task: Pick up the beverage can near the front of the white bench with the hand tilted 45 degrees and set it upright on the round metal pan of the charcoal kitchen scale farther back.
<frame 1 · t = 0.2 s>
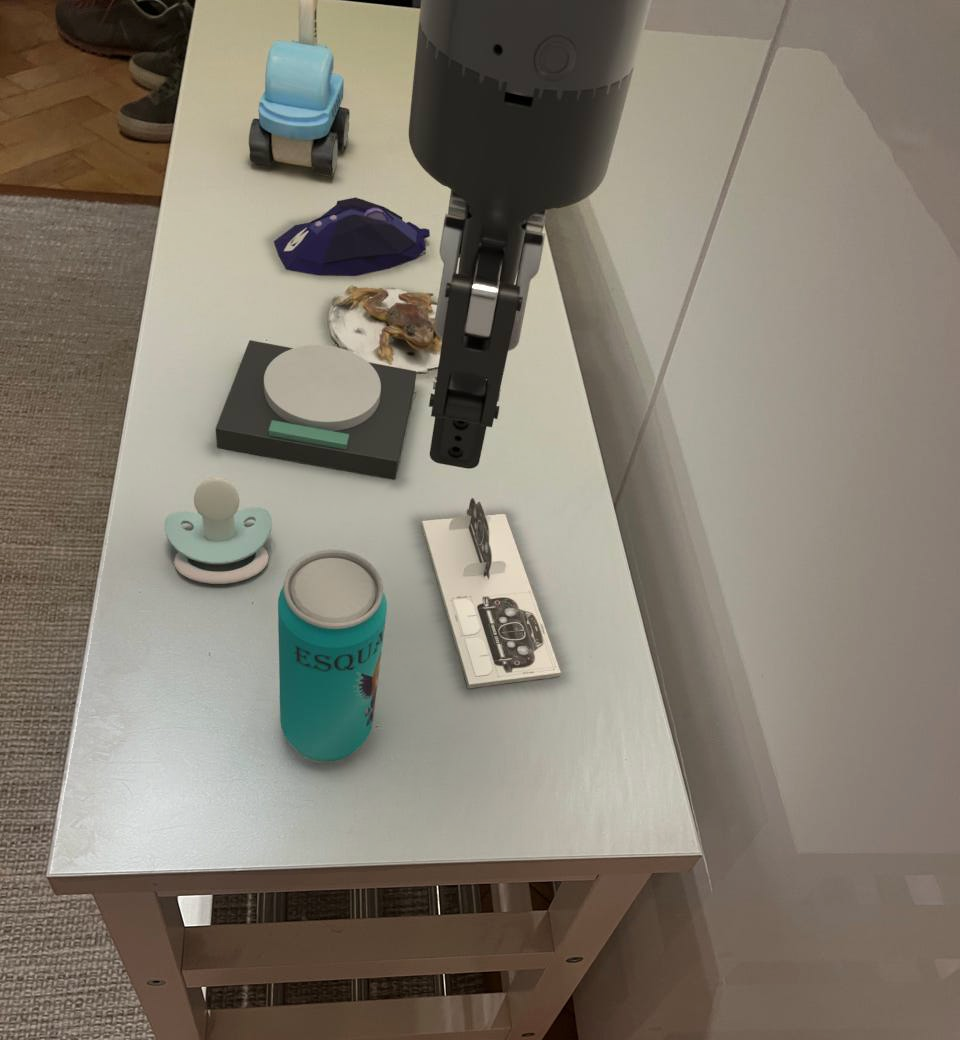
hand: (464, 398, 46), 25 cm above the bench, tool pointing down, fingers open, 8 cm apart
scale: (320, 417, 81), on the bench
frog figurine: (398, 334, 89), on the bench
beverage can: (325, 734, 64), on the bench
car cutout: (486, 598, 72), on the bench
pacifier: (221, 557, 71), on the bench
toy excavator: (306, 142, 105), on the bench
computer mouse: (353, 247, 95), on the bench
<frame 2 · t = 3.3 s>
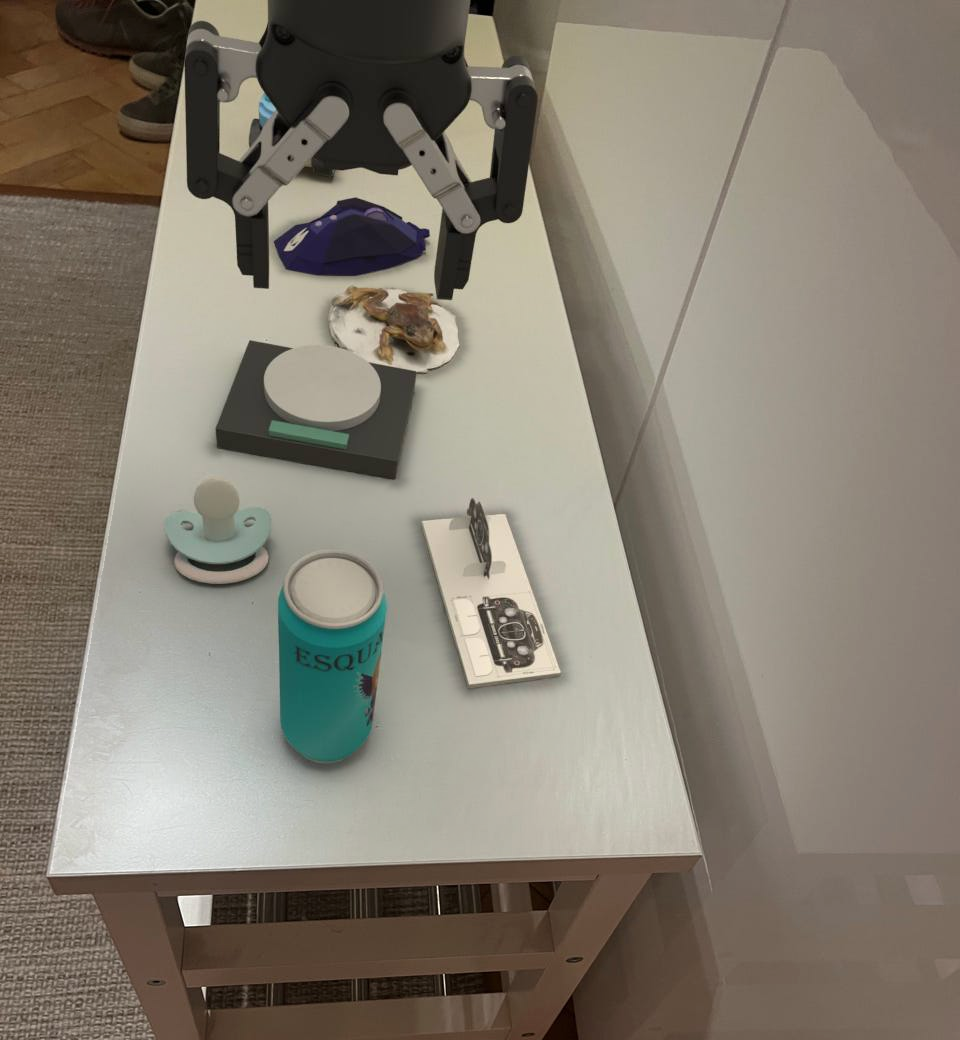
hand: (353, 284, 47), 27 cm above the bench, tool pointing down, fingers open, 8 cm apart
nothing on the bench moved.
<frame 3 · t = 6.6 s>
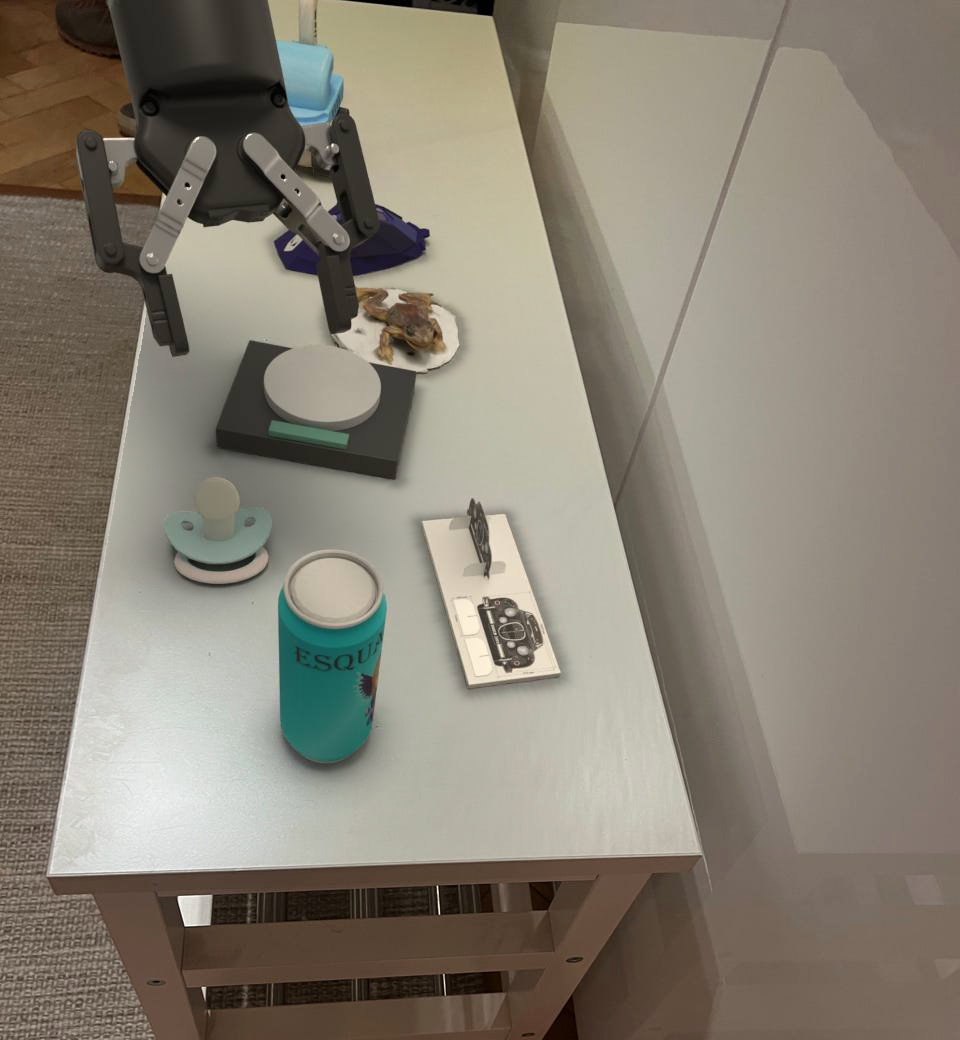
hand: (263, 342, 52), 22 cm above the bench, tool tilted 45°, fingers open, 8 cm apart
nothing on the bench moved.
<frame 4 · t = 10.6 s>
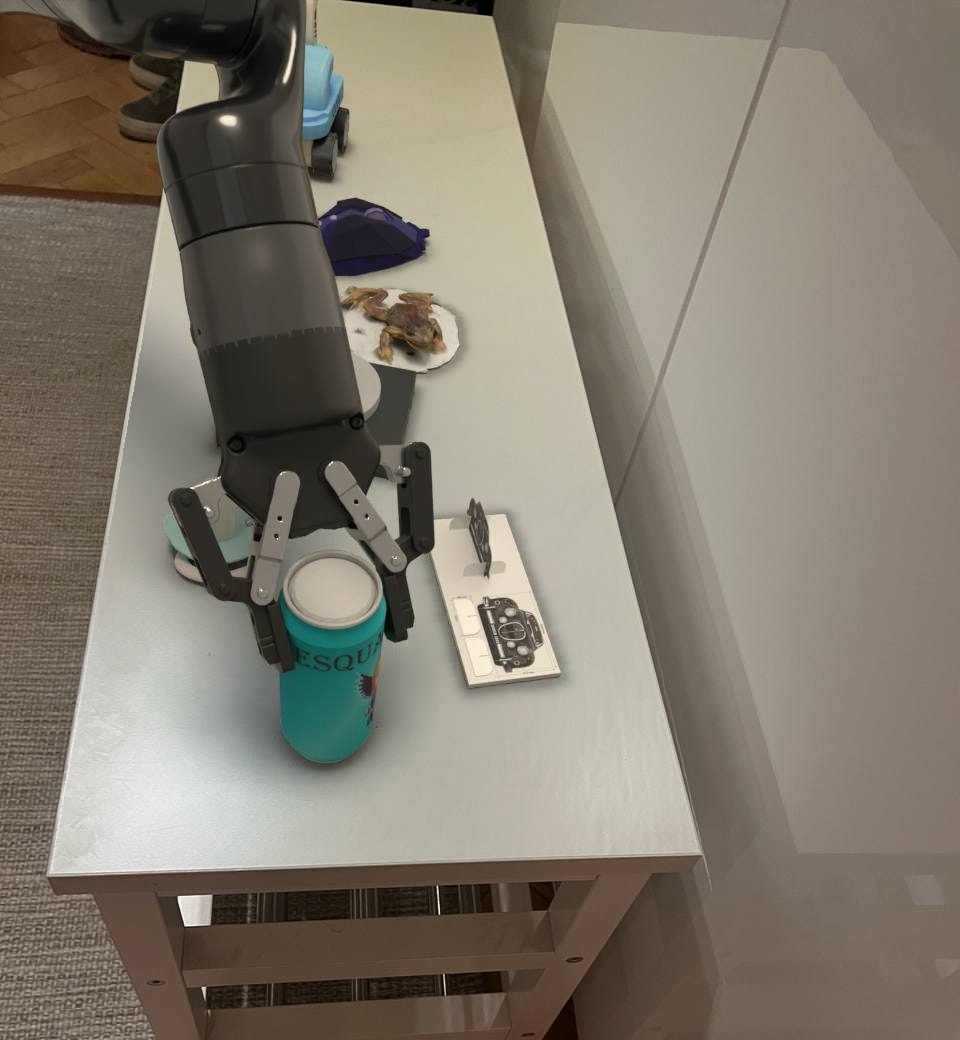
hand: (342, 653, 54), 11 cm above the bench, tool tilted 45°, fingers closed on beverage can, 5 cm apart
beverage can: (326, 734, 64), on the bench, touching gripper
everything else where it was.
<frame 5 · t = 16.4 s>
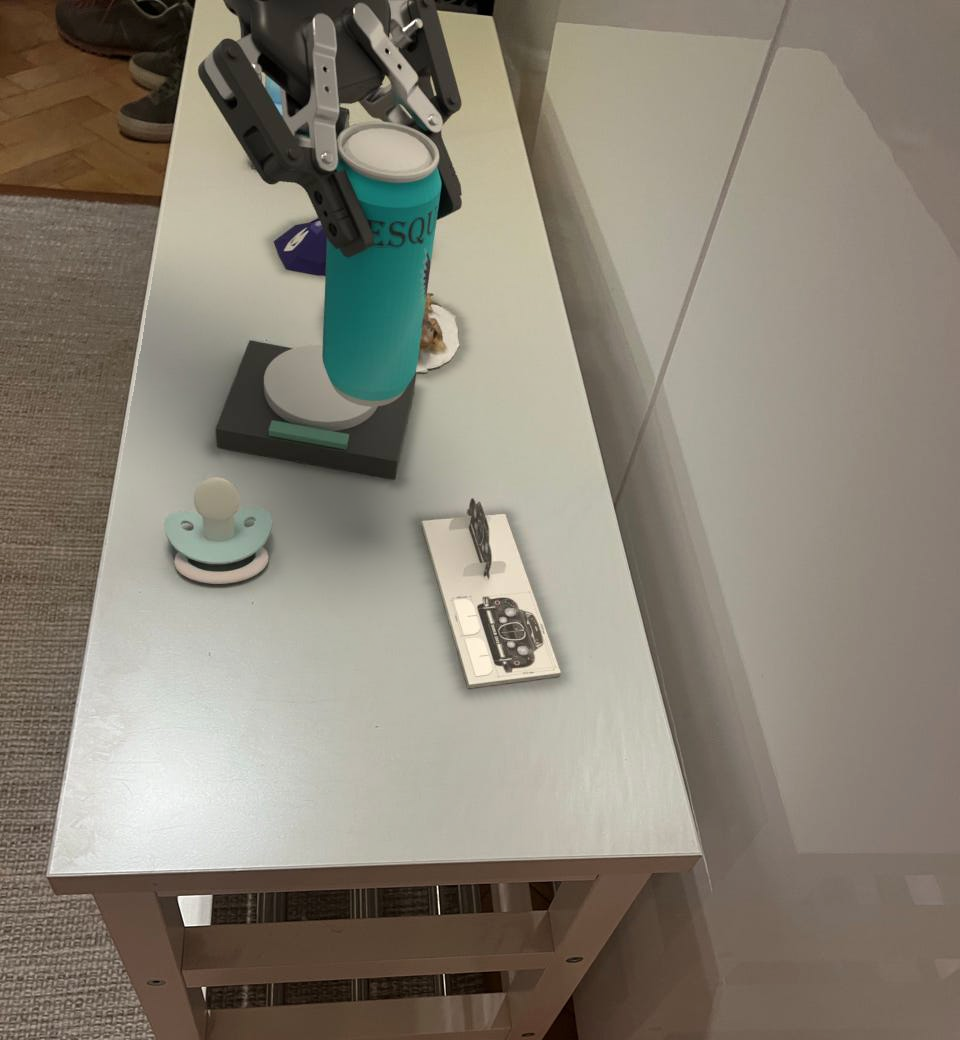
hand: (405, 231, 52), 26 cm above the bench, tool tilted 45°, fingers closed on beverage can, 5 cm apart
beverage can: (367, 385, 62), point 15 cm above the bench, touching gripper
everything else where it was.
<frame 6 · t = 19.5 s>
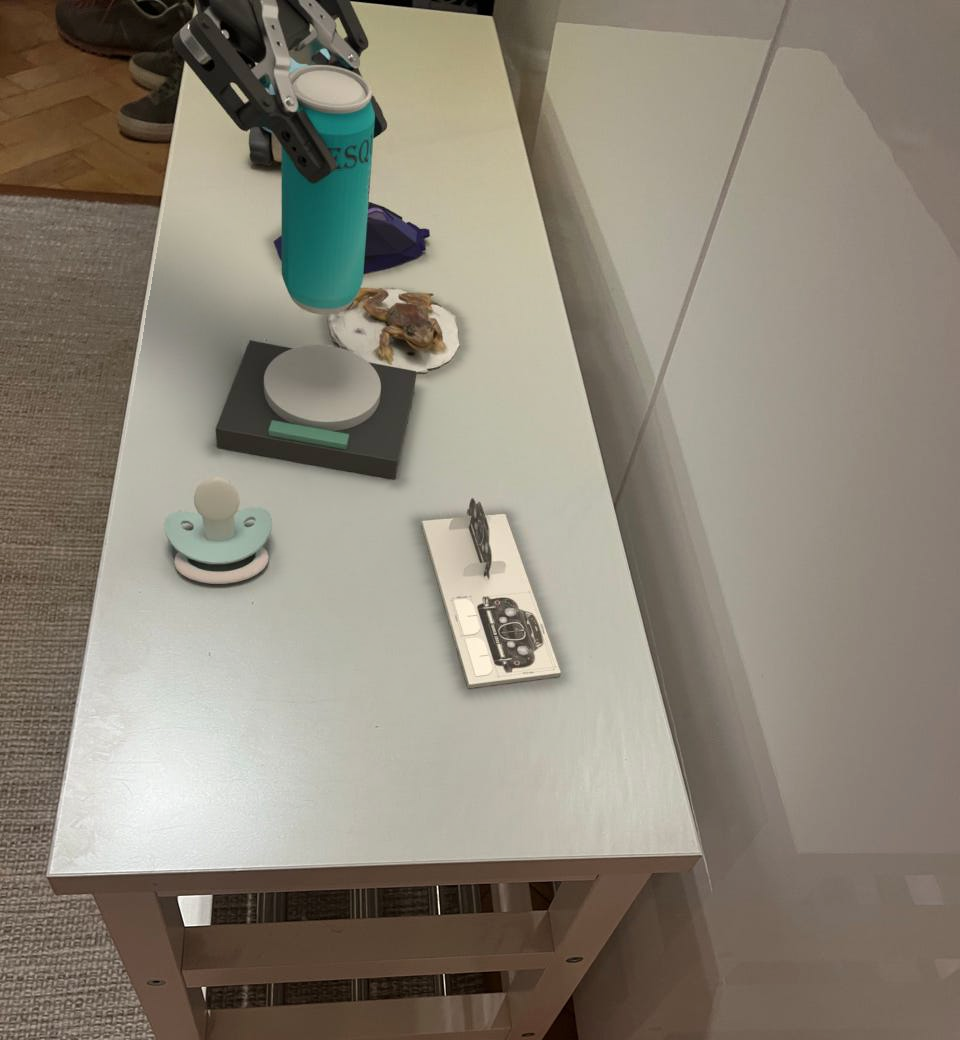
hand: (350, 154, 63), 22 cm above the bench, tool tilted 45°, fingers closed on beverage can, 5 cm apart
beverage can: (321, 298, 72), point 11 cm above the bench, touching gripper
everything else where it was.
when the fingers open (14 cm above the bench, at t = 22.2 s): beverage can stays where it is, resting on scale.
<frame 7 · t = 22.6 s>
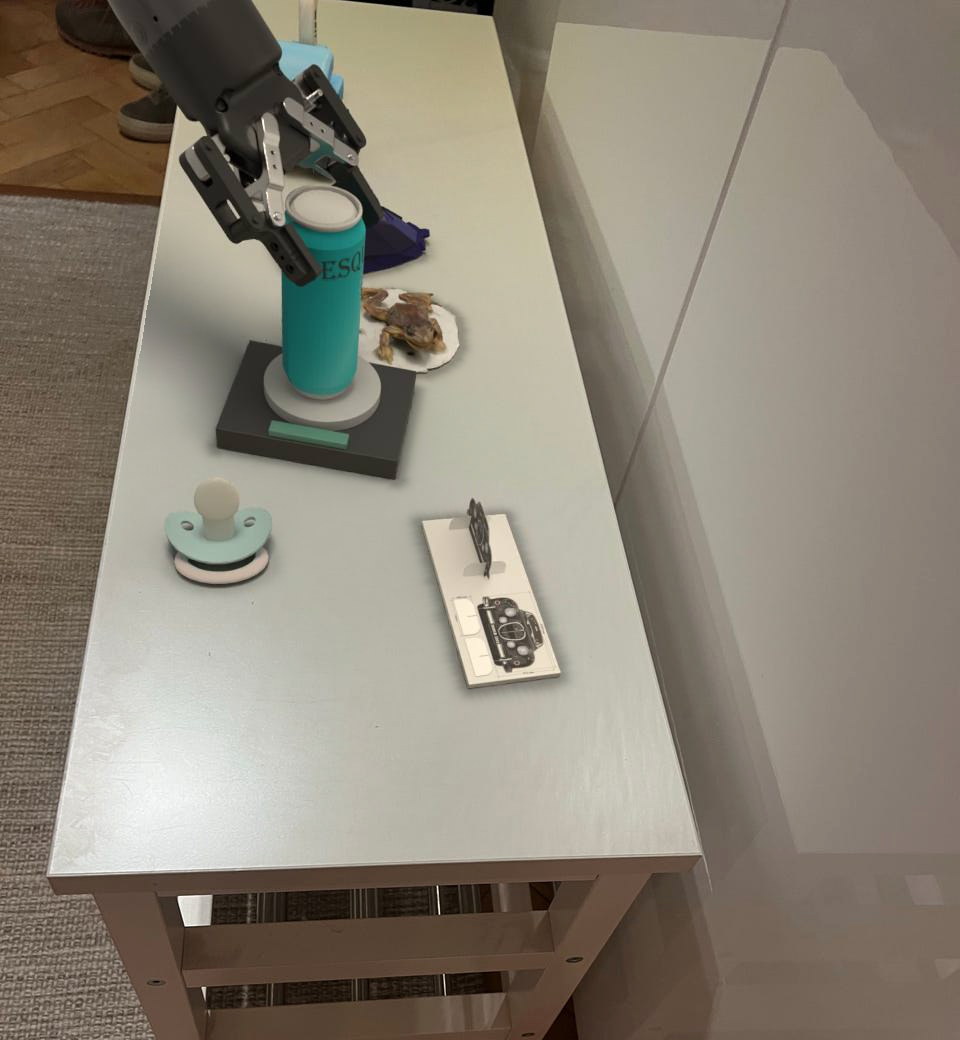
hand: (344, 251, 69), 15 cm above the bench, tool tilted 45°, fingers open, 8 cm apart
beverage can: (319, 383, 79), point 3 cm above the bench, touching scale
everything else where it was.
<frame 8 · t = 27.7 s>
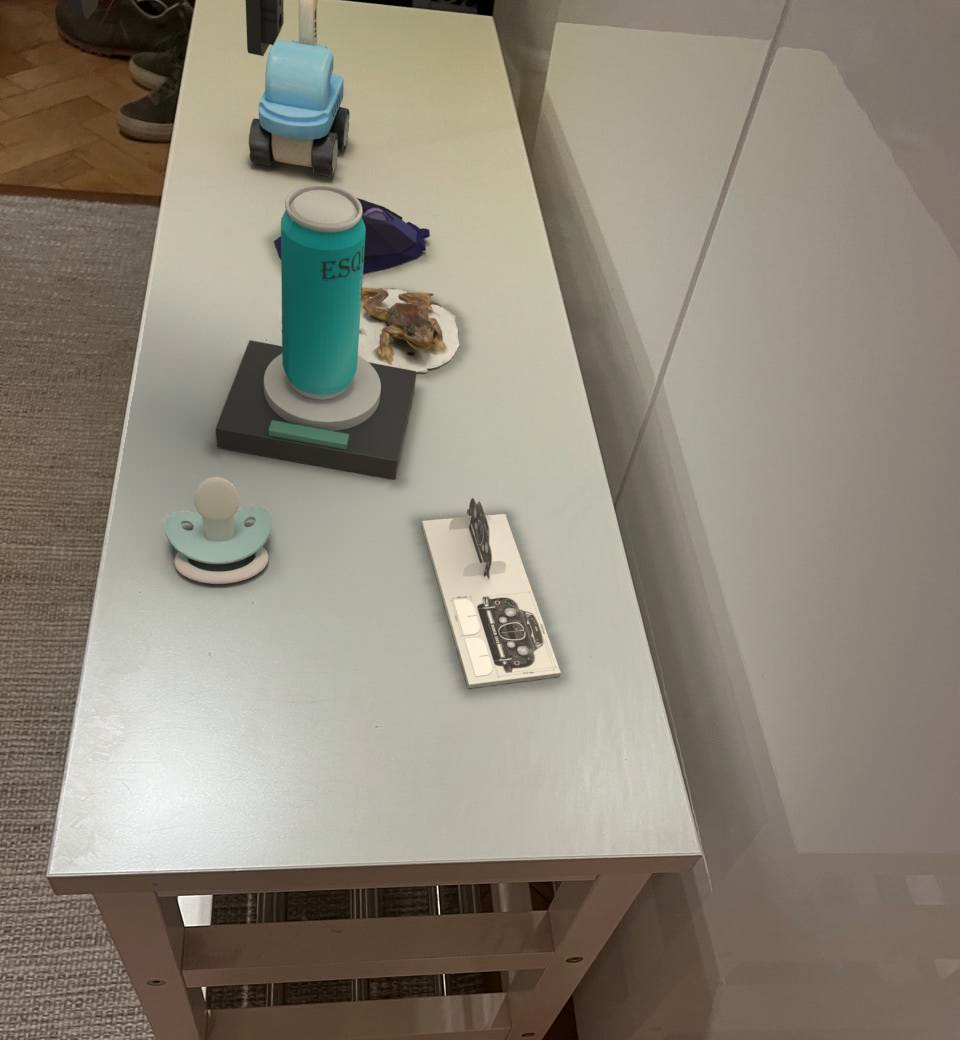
hand: (173, 30, 49), 32 cm above the bench, tool pointing down, fingers open, 8 cm apart
nothing on the bench moved.
at the end: beverage can inside the target area on the scale (0.3 cm from its centre), point 2.8 cm above the scale's base; beverage can tilted 0°; the gripper is holding nothing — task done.
